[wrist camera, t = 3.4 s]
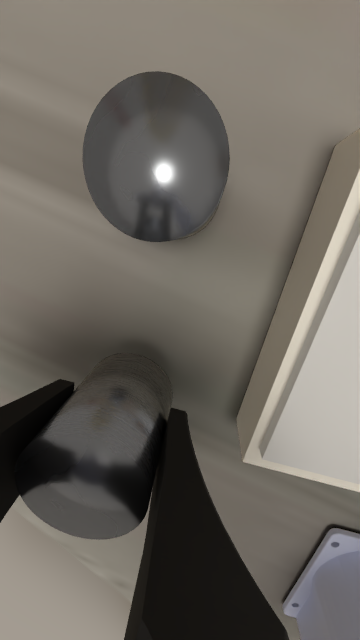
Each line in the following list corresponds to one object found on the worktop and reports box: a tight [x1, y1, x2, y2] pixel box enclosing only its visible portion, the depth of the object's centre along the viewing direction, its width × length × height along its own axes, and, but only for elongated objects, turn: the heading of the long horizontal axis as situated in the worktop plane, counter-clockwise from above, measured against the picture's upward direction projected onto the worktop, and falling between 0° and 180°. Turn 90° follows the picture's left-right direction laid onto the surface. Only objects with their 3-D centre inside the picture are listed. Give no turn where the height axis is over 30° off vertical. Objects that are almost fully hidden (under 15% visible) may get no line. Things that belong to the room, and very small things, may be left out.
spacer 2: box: [15, 353, 173, 539], centre depth 10 cm, size 4×4×5 cm
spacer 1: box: [83, 72, 230, 242], centre depth 9 cm, size 4×4×5 cm
